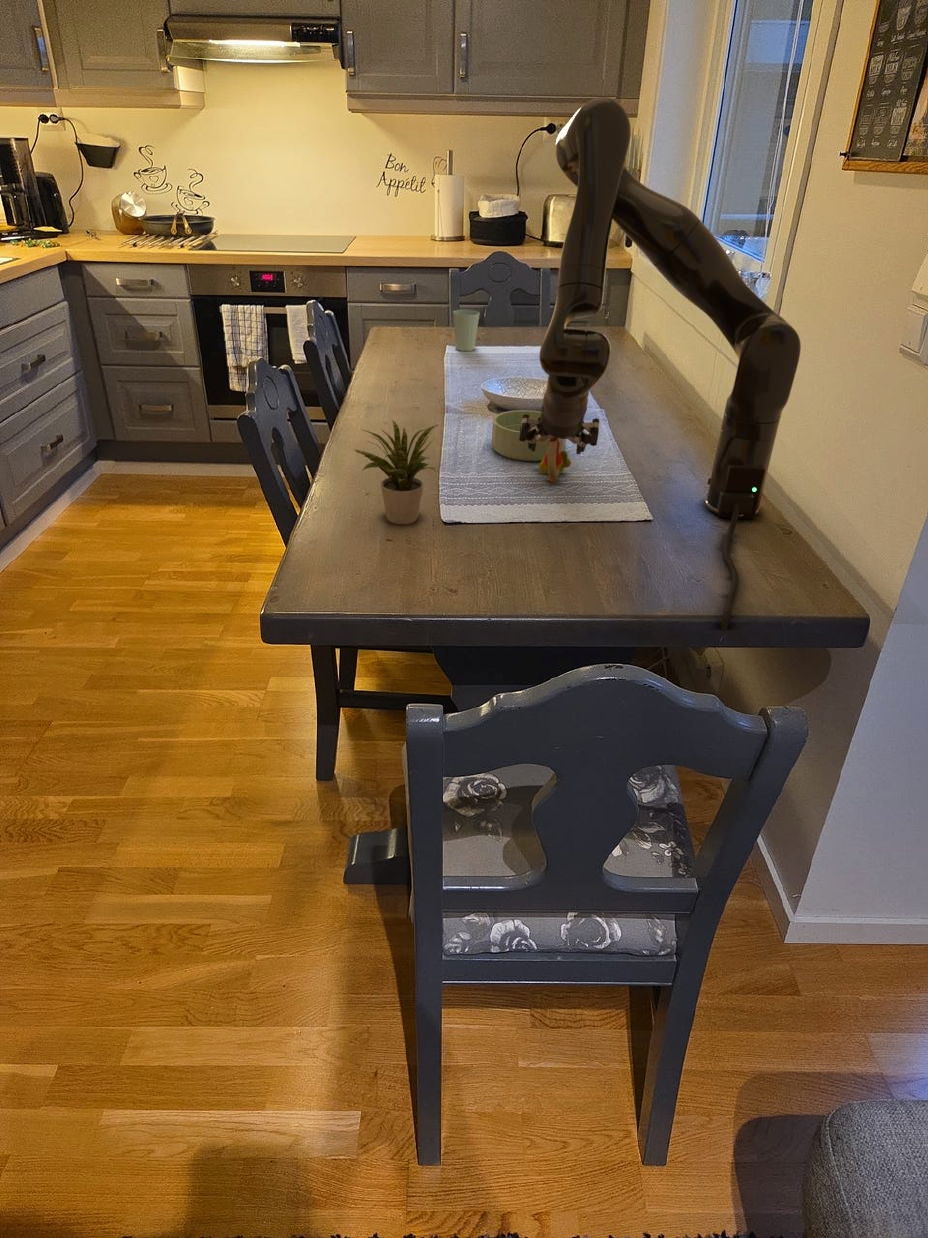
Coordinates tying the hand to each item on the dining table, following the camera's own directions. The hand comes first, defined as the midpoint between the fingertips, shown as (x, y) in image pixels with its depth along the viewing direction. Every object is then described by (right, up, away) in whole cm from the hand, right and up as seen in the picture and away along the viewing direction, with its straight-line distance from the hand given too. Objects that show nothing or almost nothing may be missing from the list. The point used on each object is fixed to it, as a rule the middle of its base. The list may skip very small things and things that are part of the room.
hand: (555, 448), depth 158 cm
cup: (-17, +48, +89) cm, 103 cm away
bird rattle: (0, -5, +3) cm, 6 cm away
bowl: (-4, +3, +16) cm, 16 cm away
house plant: (-28, -15, -15) cm, 35 cm away
